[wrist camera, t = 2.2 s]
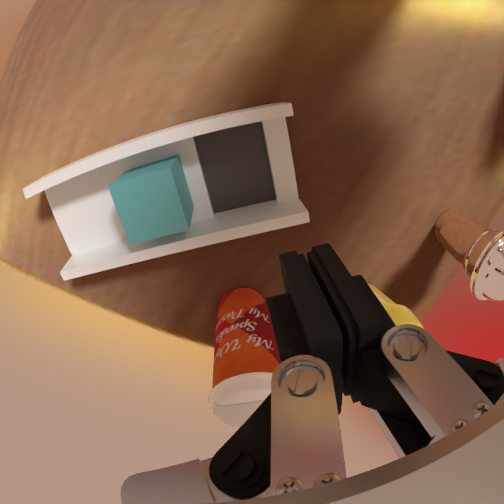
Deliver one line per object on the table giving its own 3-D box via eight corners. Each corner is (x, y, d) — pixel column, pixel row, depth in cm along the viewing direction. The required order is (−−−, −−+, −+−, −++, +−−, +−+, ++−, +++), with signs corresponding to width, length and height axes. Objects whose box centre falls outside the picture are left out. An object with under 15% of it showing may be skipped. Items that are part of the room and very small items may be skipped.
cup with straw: (449, 182, 29) (576, 269, 12) (477, 217, 32) (577, 301, 15) (411, 237, 32) (519, 352, 15) (444, 265, 35) (531, 364, 18)
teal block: (126, 170, 24) (108, 186, 20) (179, 154, 24) (170, 167, 20) (143, 219, 26) (130, 244, 22) (194, 206, 26) (189, 229, 22)
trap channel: (45, 175, 24) (22, 189, 20) (279, 102, 24) (291, 103, 20) (79, 257, 29) (64, 280, 25) (297, 203, 29) (309, 222, 25)
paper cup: (258, 268, 32) (282, 373, 20) (284, 315, 36) (311, 413, 23) (195, 296, 33) (189, 403, 21) (226, 338, 37) (234, 436, 24)
